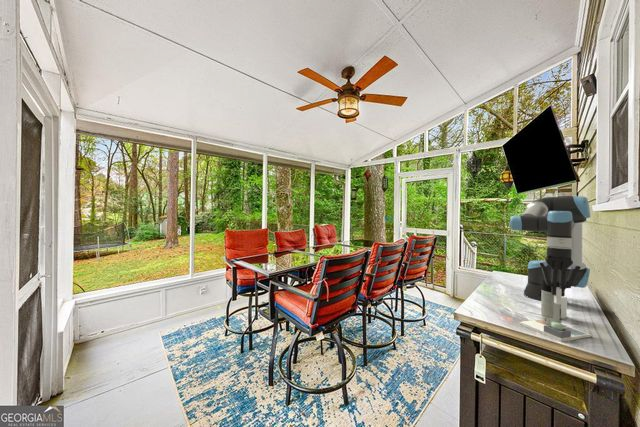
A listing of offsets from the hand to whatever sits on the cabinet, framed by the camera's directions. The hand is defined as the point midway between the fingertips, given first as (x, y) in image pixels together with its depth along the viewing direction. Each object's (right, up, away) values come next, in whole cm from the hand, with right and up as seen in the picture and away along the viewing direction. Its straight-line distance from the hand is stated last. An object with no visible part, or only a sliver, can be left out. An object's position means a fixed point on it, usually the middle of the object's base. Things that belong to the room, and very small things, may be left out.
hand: (557, 303), depth 102 cm
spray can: (+7, -13, +10) cm, 18 cm away
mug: (+19, -15, +21) cm, 32 cm away
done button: (0, -12, 0) cm, 12 cm away
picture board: (+4, -14, +6) cm, 16 cm away
